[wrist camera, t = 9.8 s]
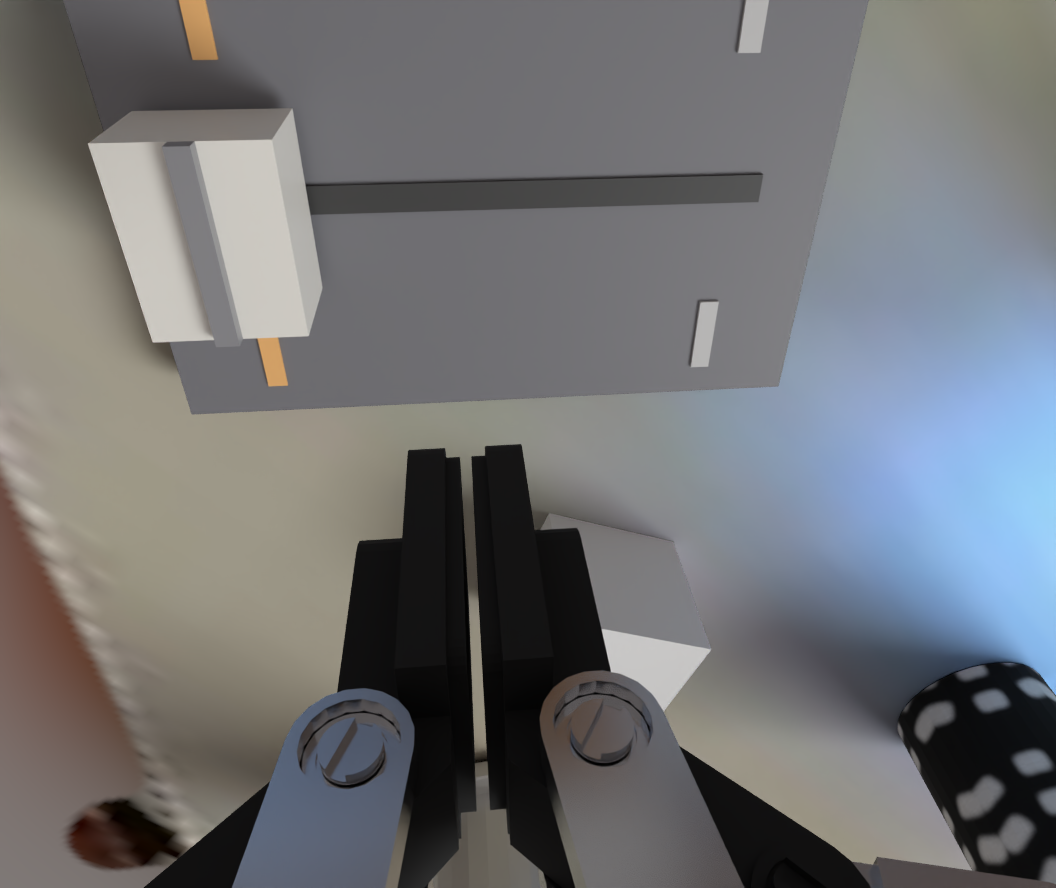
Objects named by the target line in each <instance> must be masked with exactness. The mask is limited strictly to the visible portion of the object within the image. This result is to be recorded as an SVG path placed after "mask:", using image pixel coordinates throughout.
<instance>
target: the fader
mask: <svg viewBox="0 0 1056 888" xmlns="http://www.w3.org/2000/svg"><path fill="white" fill-rule="evenodd" d="M88 145H89V148H90V151H91V155H92V158H93V161H94V164H95V167H96V170H97V173H98V176H99V179H100V182H101V185H102V188H103V191H104V194H105V198H106V201H107V204H108V207H109V210H110V213H111V216H112V219H113V222H114V225H115V228H116V231H117V234H118V237H119V240H120V244H121V247H122V250H123V253H124V256H125V259H126V262H127V265H128V268H129V271H130V274H131V277H132V280H133V283H134V287H135V290H136V293H137V296H138V299H139V302H140V305H141V308H142V311H143V314H144V317H145V320H146V323H147V326H148V330H149V333H150V336H151V339H152V342H153V343H154V342H178V341H203V340H214V342H215V345H216V347H235V346H240V345H241V342H242V340H243V339H252V338H277V337H302V336H309V334H310V330H311V327H312V323H313V320H314V316H315V313H316V309H317V306H318V302H319V299H320V295H321V292H322V288H323V287H322V281H321V275H320V269H319V263H318V257H317V252H316V246H315V240H314V234H313V228H312V222H311V216H310V210H309V204H308V198H307V192H306V186H305V180H304V174H303V168H302V162H301V156H300V150H299V145H298V139H297V133H296V127H295V121H294V115H293V109H292V108H275V109H218V110H162V111H131V112H130V113H128V114H127V115H126V116H124V117H123V118H122V119H120V120H119V121H118V122H116V123H115V124H113V125H112V126H111V127H109V128H108V129H107V130H105V131H104V132H103V133H101V134H100V135H99V136H97V137H96V138H95V139H93V140H92V141H91V142H89V143H88Z"/></svg>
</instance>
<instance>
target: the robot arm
mask: <svg viewBox="0 0 1056 888" xmlns="http://www.w3.org/2000/svg"><path fill="white" fill-rule="evenodd" d="M472 477H473V497H474V516H475V536H476V556H477V576H478V595H479V614H480V633H481V651H482V670H483V688H484V707H485V725H486V744H487V761H484V762H478V763H475V752H474V726H473V701H472V675H471V650H470V624H469V600H468V582H467V565H466V549H465V533H464V516H463V500H462V484H461V467H460V457H453V458H446V452H445V448H440V449H421V450H409V451H408V459H407V474H406V490H405V505H404V521H403V536H402V538H400V539H383V540H367V541H359V543H358V546H357V551H356V558H355V565H354V573H353V580H352V587H351V595H350V602H349V609H348V617H347V624H346V632H345V639H344V646H343V654H342V661H341V668H340V676H339V683H338V690H337V693H334V694H331V695H328V696H326V697H324V698H323V699H321V700H319V701H318V702H316V703H315V704H313V705H311V706H310V707H309V708H308V709H307V710H306V711H305V712H304V713H303V714H302V715H301V716H300V717H299V718H298V719H297V720H296V721H295V722H294V724H293V726H292V728H291V730H290V732H289V733H288V735H287V737H286V739H285V742H284V745H283V747H282V750H281V753H280V756H279V758H278V761H277V764H276V767H275V770H274V772H273V775H272V778H271V781H270V782H269V783H268V784H267V785H265V786H264V787H263V788H262V789H261V790H259V791H258V792H257V793H256V794H255V795H253V796H252V797H251V798H250V799H249V800H248V801H246V802H245V803H244V804H243V805H242V806H240V807H239V808H238V809H237V810H236V811H234V812H233V813H232V814H231V815H230V816H228V817H227V818H226V819H225V820H224V821H223V822H221V823H220V824H219V825H218V826H217V827H215V828H214V829H213V830H212V831H211V832H209V833H208V834H207V835H206V836H205V837H203V838H202V839H201V840H200V841H199V842H197V843H196V844H195V845H194V846H193V847H192V848H190V849H189V850H188V851H187V852H186V853H184V854H183V855H182V856H181V857H180V858H178V859H177V860H176V861H175V862H174V863H172V864H171V865H170V866H169V867H168V868H167V869H165V870H164V871H163V872H162V873H161V874H159V875H158V876H157V877H156V878H155V879H153V880H152V881H151V882H150V883H149V884H147V885H146V886H145V887H144V888H1056V884H1054V883H1050V882H1045V881H1038V880H1032V879H1025V878H1018V877H1011V876H1004V875H997V874H991V873H984V872H977V871H970V870H963V869H956V868H949V867H943V866H936V865H929V864H922V863H915V862H908V861H902V860H895V859H888V858H881V857H877V858H876V860H875V862H874V864H873V865H871V864H864V863H857V862H851V861H850V860H849V859H848V858H846V857H845V856H844V855H843V854H842V853H840V852H839V851H838V850H837V849H836V848H834V847H833V846H832V845H830V844H828V843H827V842H825V841H824V840H822V839H821V838H819V837H818V836H816V835H815V834H813V833H812V832H810V831H809V830H807V829H806V828H804V827H802V826H801V825H799V824H798V823H796V822H795V821H793V820H792V819H790V818H789V817H787V816H786V815H784V814H783V813H781V812H779V811H778V810H776V809H775V808H773V807H772V806H770V805H769V804H767V803H766V802H764V801H763V800H761V799H760V798H758V797H757V796H755V795H753V794H752V793H750V792H749V791H747V790H746V789H744V788H743V787H741V786H740V785H738V784H737V783H735V782H734V781H732V780H731V779H729V778H727V777H726V776H724V775H723V774H721V773H720V772H718V771H717V770H715V769H714V768H712V767H711V766H709V765H708V764H706V763H704V762H703V761H701V760H700V759H698V758H697V757H695V756H694V755H692V754H691V753H689V752H688V751H686V750H685V749H683V748H682V747H680V746H679V744H678V742H677V740H676V738H675V736H674V734H673V731H672V729H671V727H670V725H669V723H668V721H667V718H666V716H665V714H664V712H663V710H662V708H661V706H660V705H659V703H658V702H657V700H656V699H655V697H654V696H653V694H652V693H651V692H649V691H648V690H647V689H646V688H645V687H643V686H642V685H641V684H640V683H639V682H637V681H635V680H633V679H631V678H629V677H626V676H624V675H622V674H619V673H613V672H611V669H610V665H609V660H608V656H607V651H606V647H605V642H604V638H603V633H602V629H601V625H600V620H599V616H598V611H597V607H596V602H595V598H594V593H593V589H592V585H591V580H590V576H589V571H588V567H587V562H586V558H585V553H584V549H583V545H582V540H581V536H580V533H579V530H578V529H577V528H564V529H548V530H534V524H533V517H532V511H531V504H530V497H529V491H528V484H527V478H526V471H525V464H524V458H523V451H522V446H521V444H517V445H498V446H485V456H472Z"/></svg>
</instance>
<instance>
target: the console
mask: <svg viewBox="0 0 1056 888" xmlns="http://www.w3.org/2000/svg"><path fill="white" fill-rule="evenodd" d="M868 1H869V0H63V2H64V5H65V8H66V12H67V15H68V18H69V21H70V25H71V28H72V31H73V34H74V37H75V41H76V44H77V47H78V50H79V53H80V57H81V60H82V63H83V66H84V70H85V73H86V76H87V79H88V82H89V86H90V89H91V92H92V95H93V98H94V102H95V105H96V108H97V111H98V115H99V118H100V121H101V124H102V127H103V131H105V130H107V129H108V128H109V127H111V126H112V125H113V124H115V123H116V122H118V121H119V120H120V119H122V118H123V117H124V116H126V115H127V114H128V113H130V112H131V111H162V110H218V109H275V108H292V109H293V115H294V121H295V127H296V133H297V139H298V145H299V150H300V156H301V162H302V168H303V174H304V180H305V186H306V192H307V198H308V204H309V210H310V216H311V222H312V228H313V234H314V240H315V246H316V252H317V257H318V263H319V269H320V275H321V281H322V287H323V288H322V292H321V295H320V299H319V302H318V306H317V309H316V313H315V316H314V320H313V323H312V327H311V330H310V334H309V336H302V337H277V338H252V339H243V340H242V342H241V345H240V346H235V347H216V345H215V342H214V340H203V341H178V342H169V343H170V346H171V349H172V352H173V356H174V359H175V362H176V365H177V368H178V372H179V375H180V378H181V381H182V385H183V388H184V391H185V394H186V397H187V401H188V404H189V407H190V410H191V413H192V414H210V413H231V412H252V411H273V410H294V409H315V408H336V407H357V406H378V405H399V404H420V403H441V402H462V401H483V400H504V399H524V398H545V397H566V396H587V395H608V394H629V393H650V392H671V391H692V390H713V389H734V388H755V387H776V386H779V381H780V377H781V373H782V369H783V364H784V360H785V356H786V352H787V347H788V343H789V339H790V334H791V330H792V326H793V322H794V317H795V313H796V309H797V304H798V300H799V296H800V292H801V287H802V283H803V279H804V274H805V270H806V266H807V262H808V257H809V253H810V249H811V245H812V240H813V236H814V232H815V227H816V223H817V219H818V215H819V210H820V206H821V202H822V197H823V193H824V189H825V185H826V180H827V176H828V172H829V168H830V163H831V159H832V155H833V150H834V146H835V142H836V138H837V133H838V129H839V125H840V120H841V116H842V112H843V108H844V103H845V99H846V95H847V90H848V86H849V82H850V78H851V73H852V69H853V65H854V61H855V56H856V52H857V48H858V43H859V39H860V35H861V31H862V26H863V22H864V18H865V13H866V9H867V5H868Z"/></svg>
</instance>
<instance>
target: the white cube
mask: <svg viewBox="0 0 1056 888" xmlns="http://www.w3.org/2000/svg"><path fill="white" fill-rule="evenodd" d="M564 528H577V529H578V530H579V533H580V536H581V540H582V545H583V549H584V553H585V558H586V562H587V567H588V571H589V576H590V580H591V585H592V589H593V593H594V598H595V602H596V607H597V611H598V616H599V620H600V625H601V629H602V633H603V638H604V642H605V647H606V651H607V656H608V660H609V665H610V669H611V672H613V673H619V674H622V675H624V676H626V677H629V678H631V679H633V680H635V681H637V682H639V683H640V684H641V685H642V686H643V687H645V688H646V689H647V690H648V691H649V692H651V693H652V694H653V696H654V697H655V699H656V700H657V702H658V703H659V705H660V706H661V708H662V710H663V711H664V710H665V709H666V707H667V706H668V705H669V704H670V702H671V701H672V700H673V698H674V697H675V696H676V695H677V693H678V692H679V691H680V689H681V688H682V687H683V685H684V684H685V683H686V682H687V680H688V679H689V678H690V676H691V675H692V674H693V673H694V671H695V670H696V669H697V667H698V666H699V665H700V663H701V662H702V661H703V660H704V658H705V657H706V656H707V654H708V653H709V652H710V651H711V647H710V644H709V641H708V639H707V636H706V633H705V630H704V627H703V624H702V622H701V619H700V616H699V613H698V610H697V607H696V605H695V602H694V599H693V596H692V593H691V590H690V588H689V585H688V582H687V579H686V576H685V573H684V571H683V568H682V565H681V562H680V559H679V556H678V554H677V551H676V548H675V545H674V542H672V541H668V540H664V539H659V538H655V537H651V536H646V535H642V534H638V533H633V532H629V531H625V530H620V529H616V528H612V527H607V526H603V525H599V524H594V523H590V522H586V521H581V520H577V519H573V518H568V517H564V516H560V515H555V514H551V513H549V514H548V516H547V518H546V520H545V522H544V524H543V526H542V528H541V530H548V529H564Z"/></svg>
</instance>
